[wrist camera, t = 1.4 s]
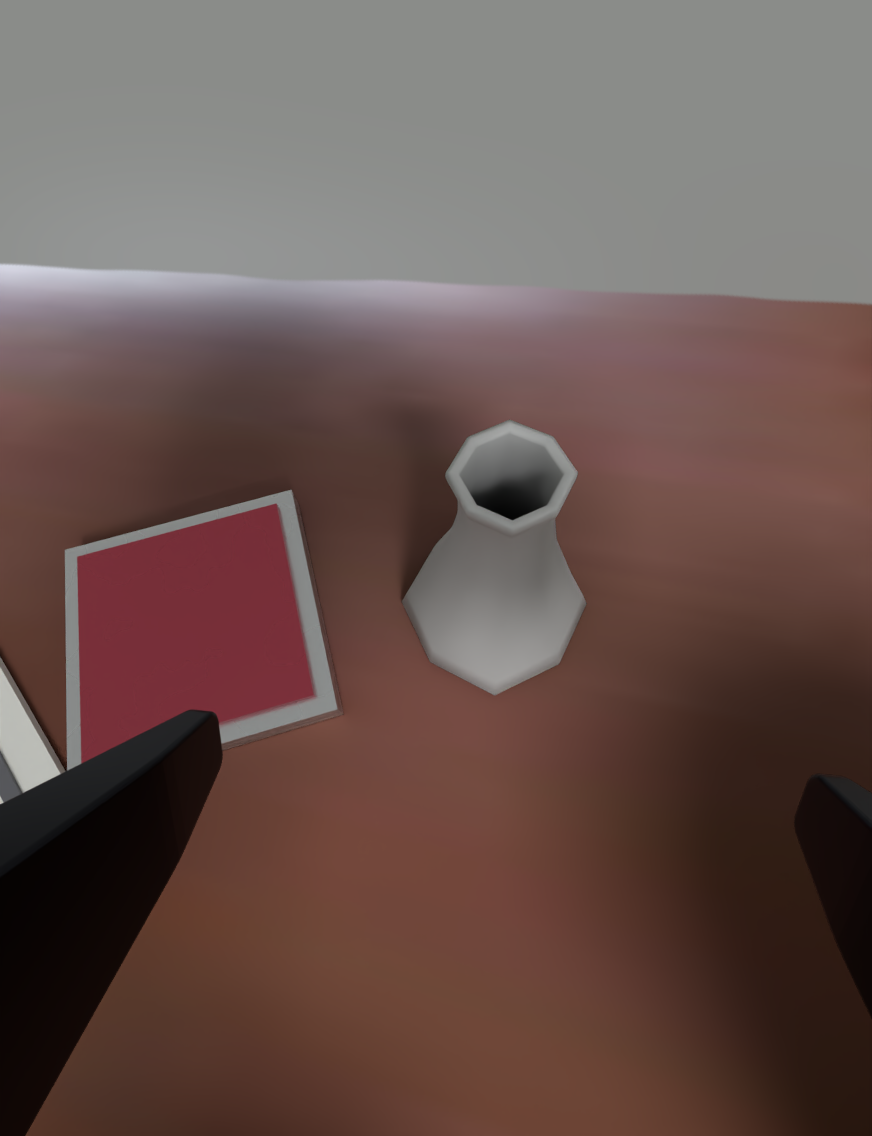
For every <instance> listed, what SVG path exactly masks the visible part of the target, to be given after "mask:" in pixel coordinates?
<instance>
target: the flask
mask: <svg viewBox="0 0 872 1136" xmlns="http://www.w3.org/2000/svg"><path fill="white" fill-rule="evenodd" d="M577 474H578V472H577V471H576V469H575V468H574V466H573V465H572V463H571V462H570V460H569V459H568V457H567V456H566V455H565V453H564V452H563V450H562V449H561V447H560V446H559V444H558V443H557V441H556V440H555V439H554V437H553V436H550V435H548V434H545V433H543V432H540V431H538V430H535V429H532V428H530V427H527V426H525V425H522V424H520V423H517V422H515V421H512V420H508V421H505V422H503V423H500V424H498V425H495V426H493V427H491V428H488V429H486V430H483V431H481V432H479V433H476V434H474V435H471V436H469V437H467V439H466V441H465V442H464V444H463V445H462V447H461V449H460V450H459V452H458V454H457V455H456V457H455V458H454V460H453V462H452V463H451V465H450V467H449V468H448V470H447V471H446V476H445V478H446V480H447V482H448V484H449V486H450V487H451V489H452V491H453V493H454V494H455V496H456V498H457V500H458V512H457V515H456V518H455V521H454V524H453V526H452V527H451V529H450V530H449V531H448V532H447V533H446V534H445V535H444V536H443V537H442V538H441V539H440V540H439V541H438V542H437V544H436V545H435V546H434V548H433V549H432V551H431V553H430V554H429V556H428V558H427V559H426V561H425V563H424V565H423V566H422V568H421V570H420V571H419V573H418V575H417V576H416V578H415V580H414V581H413V583H412V585H411V587H410V588H409V590H408V592H407V593H406V595H405V597H404V598H403V600H402V604H403V606H404V608H405V610H406V612H407V614H408V616H409V618H410V621H411V623H412V625H413V627H414V629H415V631H416V633H417V635H418V638H419V640H420V642H421V644H422V646H423V648H424V650H425V652H426V655H427V657H428V659H429V661H430V662H431V663H433V664H435V665H437V666H439V667H441V668H443V669H444V670H446V671H448V672H450V673H452V674H454V675H456V676H458V677H460V678H462V679H464V680H466V681H468V682H470V683H472V684H473V685H475V686H477V687H479V688H481V689H483V690H485V691H487V692H489V693H491V694H493V695H497V694H499V693H501V692H503V691H505V690H507V689H509V688H511V687H513V686H515V685H517V684H519V683H521V682H523V681H525V680H527V679H529V678H532V677H534V676H536V675H538V674H540V673H542V672H544V671H546V670H548V669H550V668H552V667H554V666H556V665H558V664H559V663H560V661H561V659H562V657H563V654H564V652H565V650H566V648H567V646H568V643H569V641H570V639H571V637H572V635H573V632H574V630H575V628H576V626H577V624H578V621H579V619H580V617H581V615H582V613H583V610H584V608H585V606H586V604H587V603H586V601H585V599H584V597H583V594H582V593H581V591H580V589H579V587H578V585H577V583H576V581H575V580H574V578H573V576H572V574H571V572H570V570H569V567H568V565H567V563H566V560H565V558H564V556H563V553H562V551H561V549H560V546H559V544H558V542H557V538H556V524H555V518H556V517H557V515H558V513H559V511H560V509H561V507H562V506H563V504H564V502H565V500H566V498H567V496H568V494H569V492H570V490H571V488H572V486H573V484H574V482H575V480H576V478H577Z"/></svg>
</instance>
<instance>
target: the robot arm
mask: <svg viewBox="0 0 872 1136" xmlns="http://www.w3.org/2000/svg"><path fill="white" fill-rule="evenodd" d="M222 756H223V752H222V744H221V736H220V728H219V720H218V717H217V715H216V714H215V713H214V712H212V711H205V710H195V709H191V710H187V711H185V712H183V713H181V714H179V715H177V716H175V717H173V718H171V719H169V720H167V721H165V722H163V723H161V724H159V725H157V726H155V727H153V728H151V729H149V730H147V731H145V732H143V733H141V734H139V735H137V736H135V737H133V738H131V739H129V740H127V741H125V742H123V743H121V744H119V745H117V746H115V747H113V748H111V749H109V750H107V751H105V752H103V753H101V754H99V755H97V756H95V757H93V758H91V759H89V760H87V761H85V762H83V763H81V764H79V765H77V766H75V767H73V768H71V769H69V770H67V771H65V772H63V773H61V774H59V775H57V776H55V777H53V778H51V779H50V780H48V781H46V782H44V783H42V784H40V785H38V786H36V787H34V788H32V789H30V790H28V791H26V792H24V793H22V794H20V795H18V796H16V797H14V798H12V799H10V800H8V801H6V802H4V803H2V804H0V1136H25V1135H26V1133H27V1132H28V1130H29V1128H30V1126H31V1125H32V1123H33V1121H34V1119H35V1117H36V1116H37V1114H38V1112H39V1110H40V1108H41V1107H42V1105H43V1103H44V1101H45V1100H46V1098H47V1096H48V1094H49V1092H50V1091H51V1089H52V1087H53V1085H54V1084H55V1082H56V1080H57V1078H58V1076H59V1075H60V1073H61V1071H62V1069H63V1068H64V1066H65V1064H66V1062H67V1060H68V1059H69V1057H70V1055H71V1053H72V1052H73V1050H74V1048H75V1046H76V1044H77V1043H78V1041H79V1039H80V1037H81V1035H82V1034H83V1032H84V1030H85V1028H86V1027H87V1025H88V1023H89V1021H90V1019H91V1018H92V1016H93V1014H94V1012H95V1011H96V1009H97V1007H98V1005H99V1003H100V1002H101V1000H102V998H103V996H104V995H105V993H106V991H107V989H108V987H109V986H110V984H111V982H112V980H113V979H114V977H115V975H116V973H117V971H118V970H119V968H120V966H121V964H122V962H123V961H124V959H125V957H126V955H127V954H128V952H129V950H130V948H131V946H132V945H133V943H134V941H135V939H136V938H137V936H138V934H139V932H140V930H141V929H142V927H143V925H144V923H145V922H146V920H147V918H148V916H149V914H150V913H151V911H152V909H153V907H154V906H155V904H156V902H157V900H158V898H159V897H160V895H161V893H162V891H163V889H164V888H165V886H166V884H167V882H168V881H169V879H170V877H171V875H172V873H173V871H174V870H175V868H176V866H177V864H178V862H179V860H180V858H181V856H182V854H183V852H184V850H185V848H186V845H187V843H188V841H189V839H190V836H191V834H192V832H193V829H194V827H195V825H196V823H197V820H198V818H199V816H200V813H201V811H202V809H203V807H204V804H205V802H206V800H207V797H208V795H209V793H210V790H211V788H212V786H213V784H214V781H215V779H216V777H217V774H218V772H219V770H220V767H221V763H222ZM794 825H795V832H796V835H797V838H798V841H799V843H800V846H801V849H802V852H803V854H804V857H805V860H806V863H807V865H808V868H809V871H810V874H811V877H812V879H813V882H814V885H815V888H816V890H817V893H818V896H819V899H820V901H821V904H822V907H823V910H824V912H825V915H826V918H827V921H828V923H829V926H830V928H831V931H832V933H833V936H834V939H835V941H836V943H837V946H838V948H839V950H840V952H841V955H842V957H843V959H844V961H845V964H846V966H847V968H848V970H849V972H850V974H851V976H852V978H853V980H854V983H855V985H856V987H857V989H858V991H859V993H860V995H861V997H862V1000H863V1002H864V1004H865V1006H866V1008H867V1010H868V1012H869V1014H870V1016H871V1019H872V793H871V792H869V791H867V790H866V789H864V788H863V787H861V786H860V785H858V784H856V783H855V782H853V781H852V780H850V779H848V778H846V777H843V776H838V775H828V774H814V775H812V776H811V777H810V778H809V779H808V781H807V784H806V786H805V789H804V792H803V795H802V797H801V800H800V803H799V806H798V808H797V811H796V814H795V820H794Z"/></svg>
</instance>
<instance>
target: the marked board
mask: <svg viewBox="0 0 872 1136" xmlns="http://www.w3.org/2000/svg"><path fill="white" fill-rule="evenodd" d="M63 772H65V769H64V767H63V766H62V764H61V762H60V760H59V759H58V757H57V755H56V753H55V752H54V750H53V748H52V746H51V745H50V743H49V741H48V739H47V738H46V736H45V734H44V732H43V731H42V729H41V727H40V725H39V724H38V722H37V720H36V718H35V717H34V715H33V713H32V711H31V710H30V708H29V706H28V704H27V703H26V701H25V699H24V697H23V696H22V694H21V692H20V690H19V689H18V687H17V685H16V683H15V682H14V680H13V678H12V676H11V675H10V673H9V671H8V669H7V668H6V666H5V664H4V662H3V661H2V659H1V657H0V804H2V803H4V802H6V801H8V800H10V799H12V798H14V797H16V796H18V795H20V794H22V793H24V792H26V791H28V790H30V789H32V788H34V787H36V786H38V785H40V784H42V783H44V782H46V781H48V780H50V779H51V778H53V777H55V776H57V775H59V774H61V773H63Z"/></svg>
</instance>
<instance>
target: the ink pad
mask: <svg viewBox="0 0 872 1136" xmlns="http://www.w3.org/2000/svg"><path fill="white" fill-rule="evenodd" d="M65 608H66V706H67V770H69V769H71V768H73V767H75V766H77V765H79V764H81V763H83V762H85V761H87V760H89V759H91V758H93V757H95V756H97V755H99V754H101V753H103V752H105V751H107V750H109V749H111V748H113V747H115V746H117V745H119V744H121V743H123V742H125V741H127V740H129V739H131V738H133V737H135V736H137V735H139V734H141V733H143V732H145V731H147V730H149V729H151V728H153V727H155V726H157V725H159V724H161V723H163V722H165V721H167V720H169V719H171V718H173V717H175V716H177V715H179V714H181V713H183V712H185V711H187V710H191V709H195V710H205V711H212V712H214V713H215V714H216V715H217V717H218V720H219V728H220V736H221V744H222V751H223V750H226V749H229V748H233V747H236V746H239V745H243V744H246V743H250V742H253V741H256V740H260V739H263V738H266V737H270V736H273V735H277V734H280V733H283V732H287V731H290V730H293V729H297V728H300V727H303V726H307V725H310V724H314V723H317V722H320V721H324V720H327V719H330V718H334V717H337V716H340V715H344V713H343V708H342V703H341V698H340V694H339V689H338V684H337V680H336V675H335V670H334V666H333V661H332V656H331V652H330V647H329V642H328V638H327V633H326V628H325V624H324V619H323V614H322V609H321V605H320V600H319V595H318V591H317V586H316V581H315V577H314V572H313V567H312V563H311V558H310V553H309V549H308V544H307V539H306V534H305V530H304V525H303V520H302V516H301V511H300V506H299V503H298V501H297V499H296V497H295V495H294V493H293V491H292V490H288V491H284V492H281V493H277V494H273V495H269V496H266V497H262V498H258V499H254V500H250V501H247V502H243V503H239V504H235V505H232V506H228V507H224V508H220V509H217V510H213V511H209V512H205V513H202V514H198V515H194V516H190V517H187V518H183V519H179V520H175V521H172V522H168V523H164V524H160V525H157V526H153V527H149V528H145V529H142V530H138V531H134V532H130V533H127V534H123V535H119V536H115V537H112V538H108V539H104V540H100V541H97V542H93V543H89V544H85V545H82V546H78V547H74V548H70V549H66V550H65Z"/></svg>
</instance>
